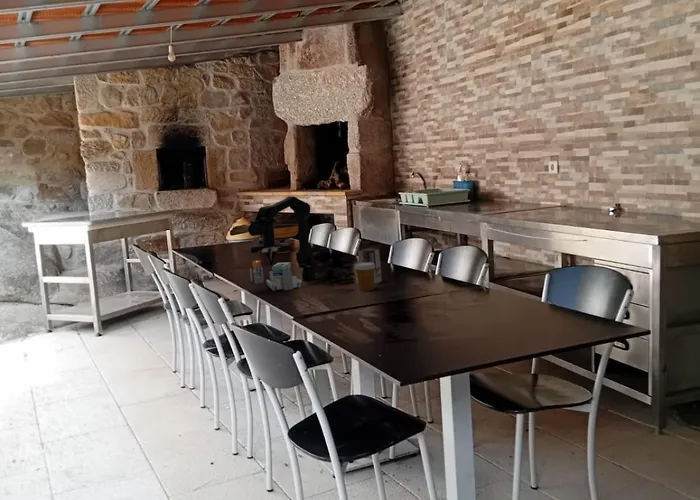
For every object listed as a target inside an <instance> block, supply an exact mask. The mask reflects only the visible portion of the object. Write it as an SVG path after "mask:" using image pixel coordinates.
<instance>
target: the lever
mask: <svg viewBox="0 0 700 500" xmlns="http://www.w3.org/2000/svg"><path fill="white" fill-rule="evenodd" d="M252 267H253V268H254V269H253V268H252V269H253V270H252V274H253V275H254V274H256V273H259V274H261V269H260V268H263V267H262V260H261V259H257V260H252Z"/></svg>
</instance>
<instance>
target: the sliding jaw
mask: <svg viewBox="0 0 700 500" xmlns="http://www.w3.org/2000/svg"><path fill="white" fill-rule="evenodd" d="M282 275H283V277H282V278H275V282H270V285H271V286H276V287H275V290H276V291H278V290H283V291H290V290H294V289H295V288H298V287H297V283H303V279H302V278H297V275H293V273H292V270H291V271H283V272H282Z"/></svg>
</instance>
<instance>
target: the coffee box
mask: <svg viewBox="0 0 700 500" xmlns="http://www.w3.org/2000/svg"><path fill="white" fill-rule="evenodd" d="M380 250H381V249H380V248H362V249H360V250H358V251H357V253H358V263H363V262H372V263H374V264H375V269H374V284H379V283H380V282H382V278H383V277H382V265H381V252H380Z"/></svg>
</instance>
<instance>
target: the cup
mask: <svg viewBox="0 0 700 500" xmlns="http://www.w3.org/2000/svg"><path fill="white" fill-rule="evenodd" d="M274 235H275V241H279V244H280V243H286V241H287V240H290V239H292V238H294V237H295V236H297V235H299V232H298V223H282V224H274ZM260 236H261V237H263V236H262V234H261V235H260ZM277 251H278V252H276V254H283V253H289V252H291V251H292V250H291V249H287V250H283V249H282V248H280V249H278V250H277Z"/></svg>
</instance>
